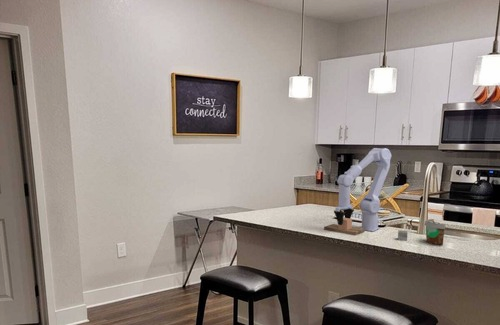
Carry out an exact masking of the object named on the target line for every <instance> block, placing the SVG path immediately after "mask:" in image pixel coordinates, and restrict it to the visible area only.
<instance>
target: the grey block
mask: <svg viewBox="0 0 500 325" xmlns="http://www.w3.org/2000/svg"><path fill="white" fill-rule="evenodd" d="M397 240H398V241H403V242H407V241H408V230H399V229H398V230H397Z"/></svg>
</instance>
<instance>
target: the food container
mask: <svg viewBox="0 0 500 325" xmlns="http://www.w3.org/2000/svg"><path fill="white" fill-rule="evenodd" d="M434 220H435V219H433V218H431V219H426V220H425V221H424V223H423V224H424V226H425V235H426V236H425V237H426V243H428V244H429V245H435V246H444V236H445V229H446V225H445V223H439V222H437V221H434Z"/></svg>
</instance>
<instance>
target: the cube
mask: <svg viewBox="0 0 500 325" xmlns="http://www.w3.org/2000/svg"><path fill="white" fill-rule="evenodd" d="M337 225H338V224H337ZM352 227H353V218H350V219H349V218H345V217H343V223H342V225H338V228H339V229H345V230H348V229H352Z"/></svg>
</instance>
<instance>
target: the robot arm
mask: <svg viewBox="0 0 500 325" xmlns="http://www.w3.org/2000/svg"><path fill="white" fill-rule="evenodd" d="M392 156H393V155H392V153H391V150H390V149H388V148H385V147H384V148H378V147H374V148H372V149H371V150H370V151H369V152H368V154H367V155H366V156H365V157H364V158H362V160H361V161H359V163H358V164H353V165H351V166H350V168H349V169H348V170H347V171H344V174H340V175H339V176H338V177H337V179H336V182H337V185H338V205H337V207H335V209H334V210H333V214H334V215H335V218H336V222H337V225H342V223H343V218H349V219H352V215H353V213H354V212H355V209H354V208H353V204H351V186H352V185H353V184H354V180H355V179H357V178H358V177H359V176H360V175H361V174H362V171H363V169H365V168H366V167H368V165H370V164H372V162H375V163H376V165H377V170H376V172H375V175H374V177H373V180H372V182H371V185H370V188H369V190H368V193H367V194H365V195H364V196H363V198H362V199H361V200H360V202H359V209H360V210H361V227H359V228H360V229H364V231H367V232H368V231H369V232H375V231H377V230H379V229H380V227H379V216H378V212H379V210H380V203H381V200H380V199H379V196H380V193H381V191H382V189H383V185H384V184H385V183H384V182H385V180H386V178H387V175H388V173H389V171H390V167H391V159H392Z"/></svg>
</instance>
